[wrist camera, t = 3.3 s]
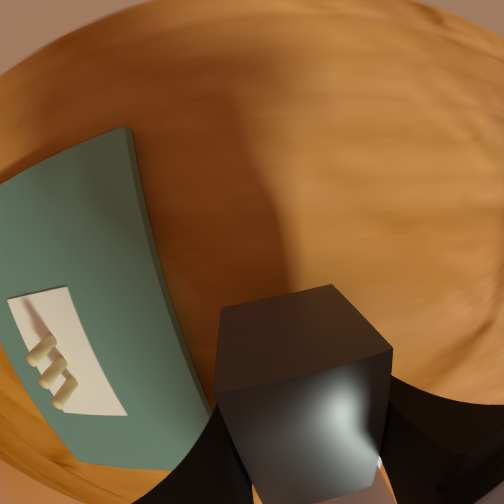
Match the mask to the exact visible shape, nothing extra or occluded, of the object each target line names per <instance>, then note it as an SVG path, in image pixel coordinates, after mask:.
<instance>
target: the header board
mask: <svg viewBox="0 0 504 504" xmlns="http://www.w3.org/2000/svg"><path fill="white" fill-rule="evenodd" d="M0 342H1V344H2V346H3V348H4V350H5V353H6V355H7V357H8V358H9V360H10V362H11V364H12V366H13V368H14V370H15V372H16V374H17V375H18V377H19V379H20V381H21V382H22V384H23V386H24V387H25V389H26V391H27V392H28V394H29V396H30V397H31V399H32V400H33V402H34V403H35V405H36V406H37V408H38V409H39V411H40V412H41V414H42V415H43V417H44V418H45V419H46V421H47V422H48V424H49V425H50V426H51V428H52V429H53V430H54V432H55V433H56V434H57V436H58V437H59V438H60V439H61V441H62V442H63V443H64V444H65V446H66V447H67V448H68V449H69V450H70V452H71V453H72V454H73V455H74V456H75V457H76V458H77V460H78V461H79V462H85V463H91V464H97V465H104V466H112V467H121V468H132V469H147V470H174V469H175V468H176V467H177V465H178V464H179V463H180V462H181V461H182V460H183V459H184V457H185V456H186V455H187V453H188V452H189V451H190V449H191V448H192V447H193V445H194V444H195V442H196V441H197V439H198V438H199V436H200V434H201V433H202V431H203V429H204V428H205V426H206V424H207V422H208V420H209V418H210V416H211V414H212V410H211V408H210V406H209V403H208V401H207V398H206V396H205V393H204V391H203V388H202V386H201V383H200V381H199V378H198V376H197V373H196V370H195V368H194V365H193V362H192V360H191V357H190V354H189V352H188V349H187V346H186V343H185V340H184V337H183V334H182V332H181V329H180V326H179V323H178V320H177V317H176V313H175V310H174V307H173V304H172V301H171V298H170V294H169V291H168V288H167V284H166V281H165V278H164V274H163V271H162V267H161V263H160V260H159V256H158V252H157V248H156V245H155V241H154V237H153V233H152V229H151V225H150V220H149V216H148V212H147V208H146V203H145V198H144V194H143V189H142V184H141V179H140V174H139V169H138V164H137V158H136V153H135V147H134V141H133V134H132V130H131V129H129V128H127V127H125V126H123V127H121V128H118V129H115V130H112V131H110V132H107V133H104V134H102V135H99V136H97V137H94V138H92V139H89V140H87V141H85V142H82V143H80V144H78V145H75V146H73V147H71V148H69V149H66V150H64V151H62V152H60V153H58V154H56V155H54V156H52V157H49V158H47V159H45V160H43V161H42V162H40V163H38V164H36V165H34V166H32V167H30V168H28V169H26V170H25V171H23V172H21V173H19V174H17V175H16V176H14V177H12V178H11V179H9V180H7V181H6V182H4V183H2V184H1V185H0Z"/></svg>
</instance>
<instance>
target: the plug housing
mask: <svg viewBox="0 0 504 504" xmlns="http://www.w3.org/2000/svg"><path fill="white" fill-rule="evenodd" d="M392 358H393V347H392V346H391V345H390V344H389V343H388V342H387V341H386V340H385V339H384V338H383V337H382V336H381V334H380V333H379V332H378V331H377V330H376V329H375V328H374V327H373V326H372V325H371V324H370V323H369V322H368V321H367V320H366V319H365V318H364V317H363V316H362V314H361V313H360V312H359V311H358V310H357V309H356V308H355V307H354V306H353V305H352V304H351V303H350V302H349V301H348V300H347V299H346V298H345V297H344V296H343V295H342V294H341V293H340V292H339V291H338V290H337V289H336V288H335V287H334V286H333V285H332V284H329V285H325V286H321V287H316V288H312V289H308V290H304V291H299V292H295V293H291V294H286V295H282V296H277V297H273V298H268V299H263V300H259V301H254V302H249V303H244V304H239V305H234V306H229V307H224V308H221V314H220V324H219V334H218V344H217V355H216V365H215V377H214V388H213V394H214V396H215V399H216V401H217V404H218V406H219V409H220V411H221V414H222V416H223V419H224V421H225V424H226V426H227V429H228V431H229V433H230V436H231V438H232V440H233V443H234V445H235V447H236V449H237V452H238V454H239V456H240V458H241V460H242V463H243V465H244V467H245V469H246V471H247V473H248V475H249V478H250V480H251V482H252V484H253V486H254V488H255V490H256V492H257V494H258V496H259V498H260V500H261V502H262V503H263V504H328V500H329V499H333V498H337V497H340V496H343V495H347V494H350V493H353V492H356V491H359V490H362V489H364V488H367V487H370V486H372V484H373V480H374V476H375V472H376V468H377V463H378V459H379V454H380V449H381V444H382V439H383V433H384V427H385V421H386V415H387V408H388V400H389V392H390V382H391V371H392Z"/></svg>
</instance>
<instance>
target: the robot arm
mask: <svg viewBox="0 0 504 504" xmlns="http://www.w3.org/2000/svg"><path fill="white" fill-rule="evenodd" d="M381 463H383V465H384V468H385V470H386V473H387V475H388V478H389V481H390V484H391V486H392V489H393V492H394V495H395V498H396V501H397V504H504V405H483V404H473V403H466V402H460V401H455V400H451V399H446V398H443V397H439V396H436V395H433V394H431V393H428V392H425V391H422V390H420V389H418V388H415V387H413V386H411V385H409V384H407V383H405V382H403V381H401V380H399V379H397V378H396V377H394V376H392V375H391V382H390V392H389V400H388V408H387V415H386V421H385V427H384V433H383V439H382V444H381V449H380V454H379V459H378V463H377V468H376V472H375V476H374V480H373V484H372V486H370V487H367V488H364V489H362V490H359V491H356V492H353V493H350V494H347V495H343V496H340V497H337V498H333V499H329V500H328V504H396V502H395V500H394V498H393V496H392V494H391V492H390V490H389V488H388V486H387V484H386V481H385V479H384V477H383V475H382V473H381V471H380V467H381ZM132 504H254V501H253V493H252V482H251V480H250V478H249V475H248V473H247V471H246V469H245V467H244V465H243V463H242V460H241V458H240V456H239V454H238V452H237V449H236V447H235V445H234V443H233V440H232V438H231V436H230V433H229V431H228V429H227V426H226V424H225V421H224V419H223V416H222V414H221V411H220V409H219V406H218V404H216V406H215V408H214V410H213V412H212V414H211V416H210V418H209V420H208V422H207V424H206V426H205V428H204V429H203V431H202V433H201V434H200V436H199V438H198V439H197V441H196V442H195V444H194V445H193V447H192V448H191V449H190V451H189V452H188V453H187V455H186V456H185V457H184V459H183V460H182V461H181V462H180V463H179V464H178V465H177V467H176V468H175V469H174V470H173V471H172V472H171V473H170V474H169V475H168V476H167V477H166V478H165V479H164V480H163V481H161V482H160V483H159V484H158V485H157V486H156V487H154V488H153V489H152V490H151V491H149V492H148V493H147V494H145V495H144V496H143V497H141V498H139V499H138V500H136V501H135V502H133V503H132Z"/></svg>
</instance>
